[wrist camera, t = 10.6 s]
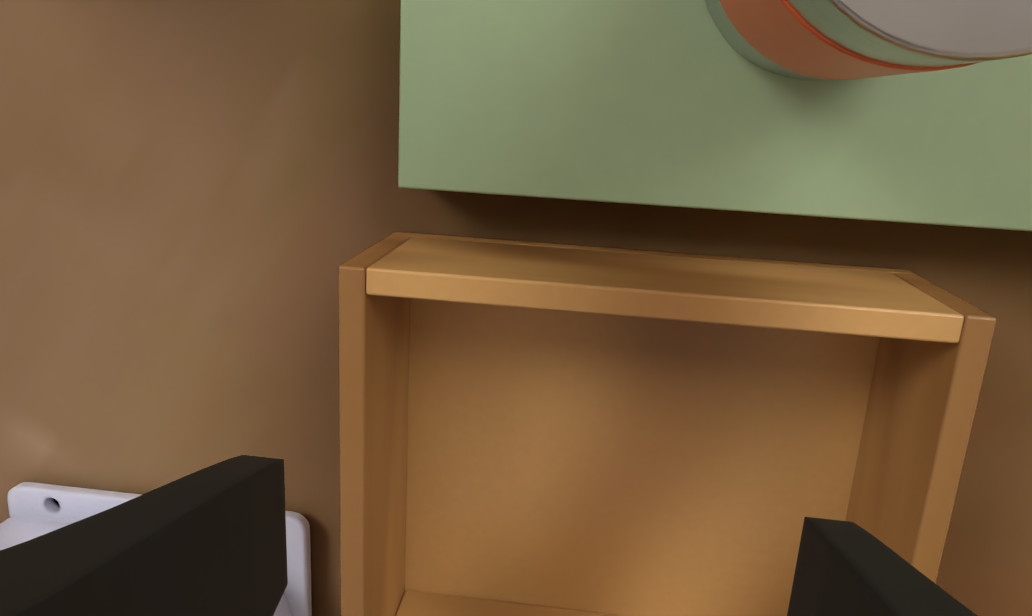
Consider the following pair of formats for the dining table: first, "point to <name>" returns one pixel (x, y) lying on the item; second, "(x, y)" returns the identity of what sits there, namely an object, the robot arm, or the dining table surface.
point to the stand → (697, 119)
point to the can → (872, 34)
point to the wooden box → (635, 424)
